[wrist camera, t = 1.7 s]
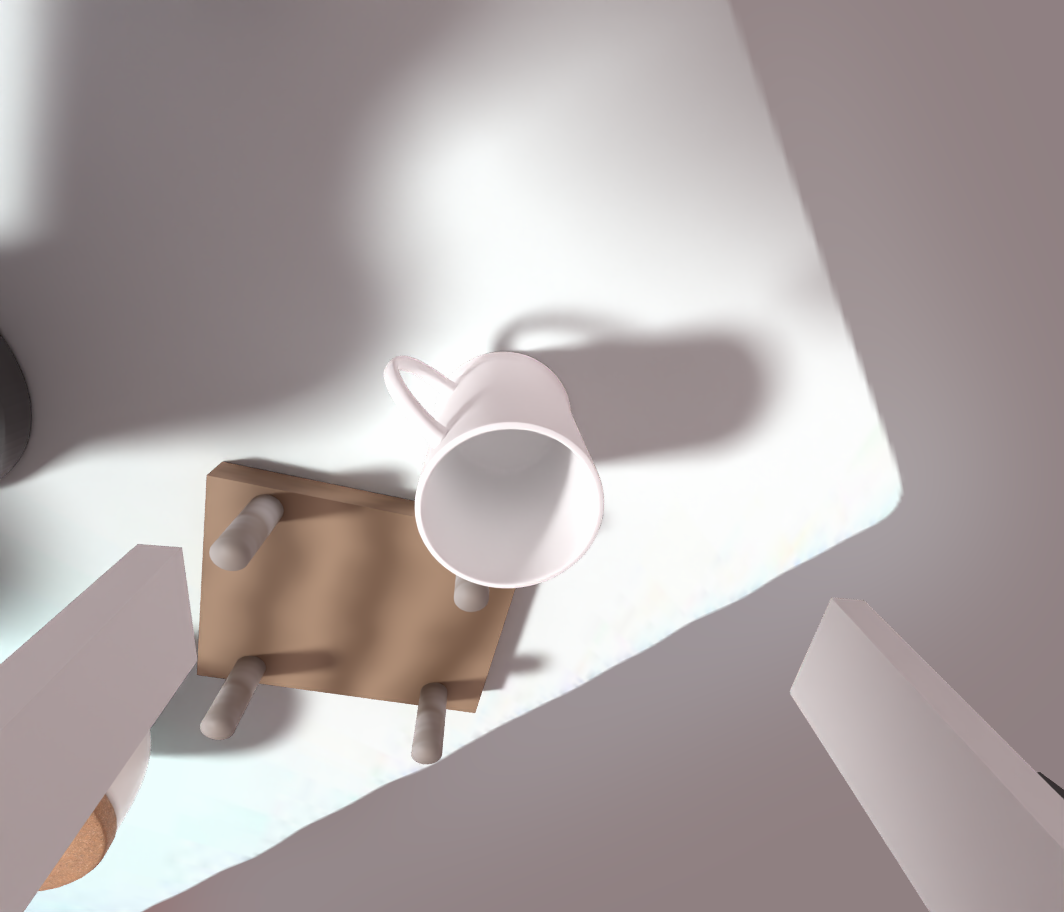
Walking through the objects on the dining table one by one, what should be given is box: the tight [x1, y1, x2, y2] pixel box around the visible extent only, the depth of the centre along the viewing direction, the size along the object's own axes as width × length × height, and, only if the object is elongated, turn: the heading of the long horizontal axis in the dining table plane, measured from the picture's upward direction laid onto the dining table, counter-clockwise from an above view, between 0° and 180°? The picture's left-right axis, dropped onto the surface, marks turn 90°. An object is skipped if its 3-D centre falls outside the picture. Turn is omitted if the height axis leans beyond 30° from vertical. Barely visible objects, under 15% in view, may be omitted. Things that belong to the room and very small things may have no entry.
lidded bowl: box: [38, 730, 151, 891], centre depth 35 cm, size 13×13×11 cm
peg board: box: [197, 462, 515, 764], centre depth 34 cm, size 20×16×7 cm
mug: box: [384, 352, 604, 588], centre depth 27 cm, size 12×8×12 cm
